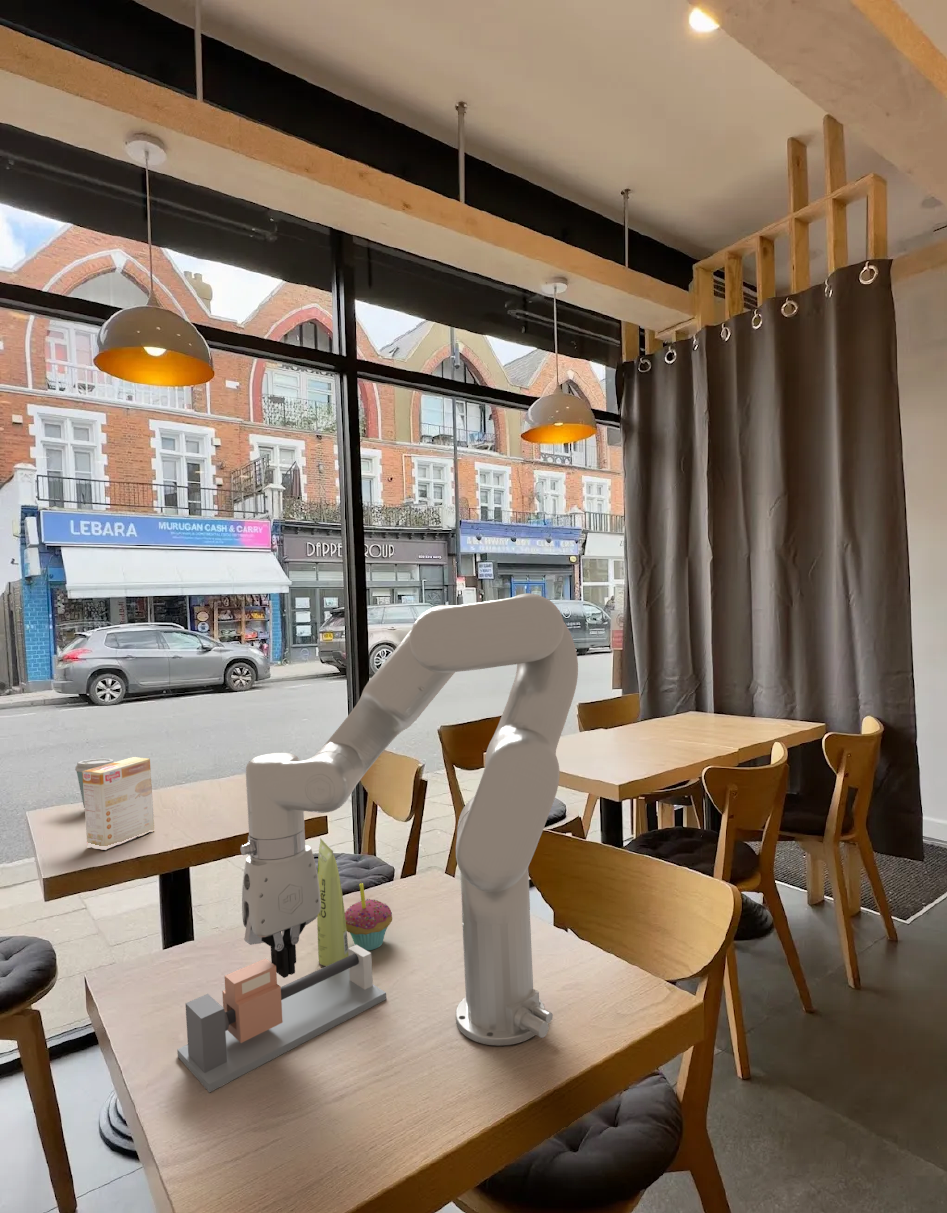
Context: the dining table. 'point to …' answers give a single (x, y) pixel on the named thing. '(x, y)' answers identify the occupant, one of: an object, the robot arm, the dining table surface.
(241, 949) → the dining table surface
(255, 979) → the sleeve
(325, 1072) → the dining table surface
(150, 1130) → the dining table surface
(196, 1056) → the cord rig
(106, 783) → the coffeecake box
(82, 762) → the disposable coffee cup
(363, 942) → the cupcake
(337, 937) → the tube
